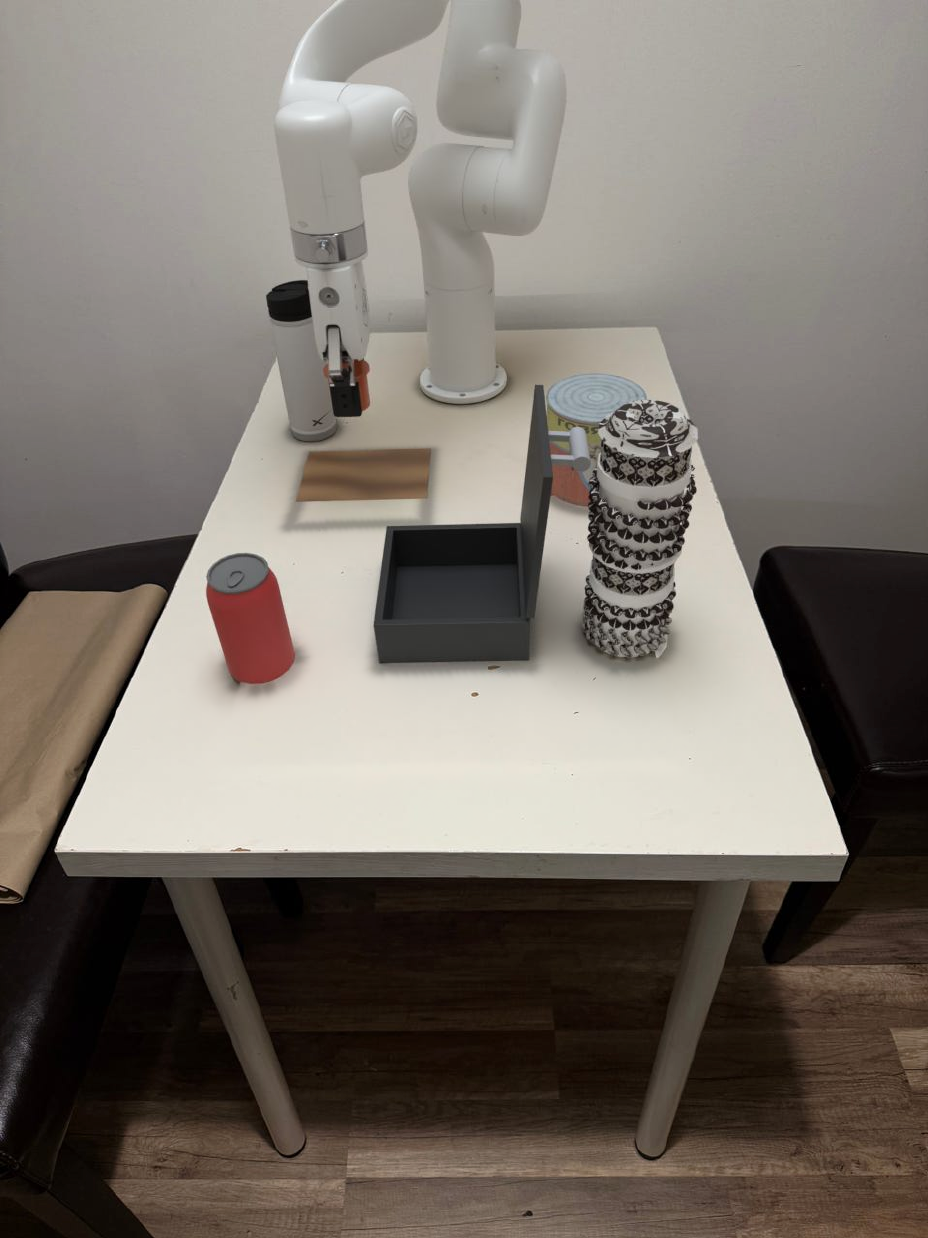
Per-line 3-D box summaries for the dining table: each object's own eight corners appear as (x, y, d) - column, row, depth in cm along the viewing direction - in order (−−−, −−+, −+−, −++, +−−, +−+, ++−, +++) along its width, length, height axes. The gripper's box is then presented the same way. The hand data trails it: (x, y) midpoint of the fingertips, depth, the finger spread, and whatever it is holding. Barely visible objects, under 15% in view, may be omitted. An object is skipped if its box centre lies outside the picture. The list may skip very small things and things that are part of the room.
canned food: (558, 518, 104) (561, 427, 96) (534, 467, 112) (535, 380, 104) (650, 504, 106) (661, 413, 98) (619, 454, 114) (627, 367, 106)
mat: (309, 454, 117) (308, 451, 117) (430, 450, 116) (430, 447, 116) (289, 526, 105) (289, 523, 105) (425, 523, 105) (424, 520, 104)
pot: (331, 394, 105) (326, 357, 102) (375, 393, 105) (371, 356, 102) (325, 416, 101) (320, 379, 98) (371, 415, 101) (367, 377, 98)
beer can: (219, 686, 86) (189, 592, 78) (241, 639, 91) (214, 546, 83) (285, 691, 85) (261, 597, 77) (303, 644, 90) (283, 550, 82)
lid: (543, 476, 72) (600, 479, 72) (534, 384, 84) (583, 386, 84) (525, 618, 82) (575, 620, 82) (520, 518, 94) (563, 520, 94)
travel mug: (331, 444, 119) (308, 296, 105) (284, 440, 120) (255, 294, 106) (345, 420, 123) (324, 275, 110) (300, 417, 124) (274, 273, 111)
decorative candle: (680, 618, 91) (717, 395, 74) (659, 680, 85) (695, 452, 68) (593, 598, 94) (610, 379, 77) (567, 656, 87) (579, 432, 70)
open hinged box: (379, 668, 87) (373, 625, 83) (391, 568, 99) (386, 525, 95) (529, 666, 87) (529, 622, 83) (523, 565, 98) (524, 522, 94)
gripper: (357, 271, 84) (377, 440, 96) (373, 212, 97) (389, 368, 109) (278, 274, 85) (308, 442, 97) (305, 214, 97) (328, 370, 109)
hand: (351, 401), depth 103 cm, fingers closed on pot, 5 cm apart
